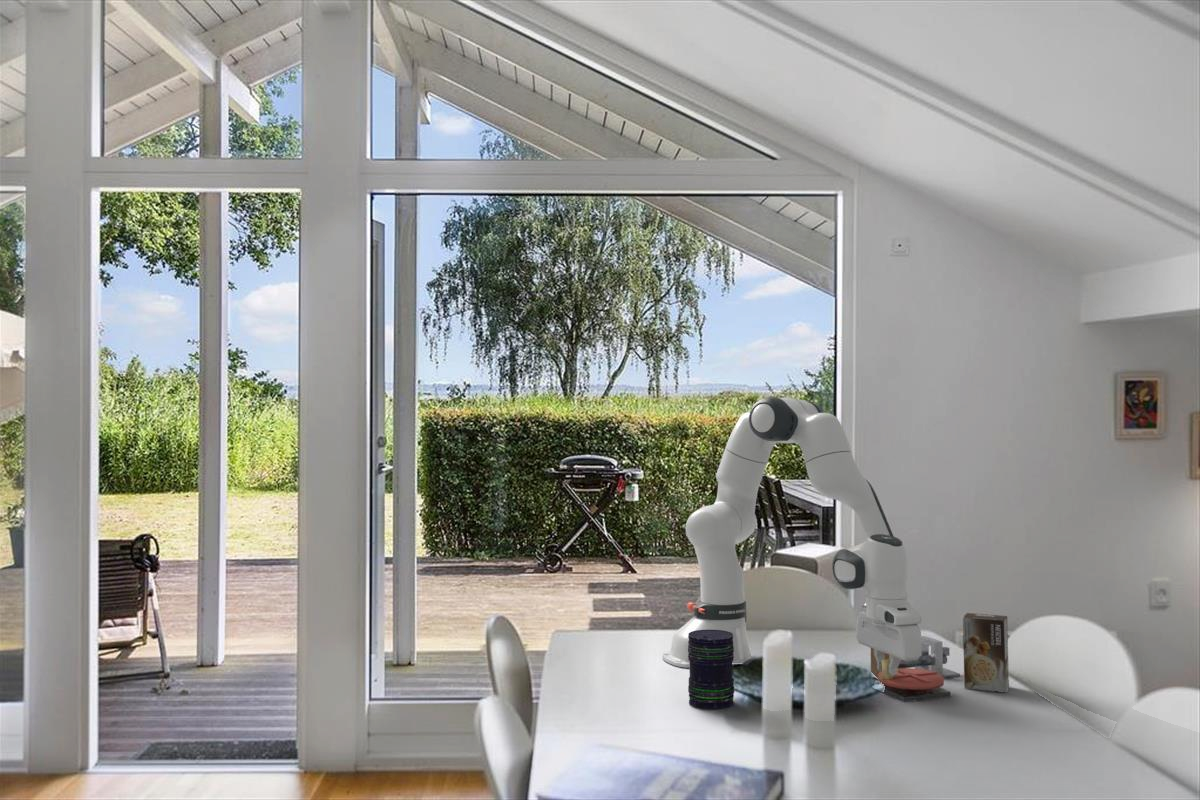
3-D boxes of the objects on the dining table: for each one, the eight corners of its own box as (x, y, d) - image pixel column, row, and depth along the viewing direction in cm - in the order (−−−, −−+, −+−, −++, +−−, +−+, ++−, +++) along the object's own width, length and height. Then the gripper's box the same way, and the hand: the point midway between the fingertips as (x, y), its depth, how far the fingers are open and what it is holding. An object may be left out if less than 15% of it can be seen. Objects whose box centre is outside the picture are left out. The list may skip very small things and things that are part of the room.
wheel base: (904, 701, 234) (904, 695, 234) (872, 688, 245) (872, 682, 245) (950, 696, 238) (950, 690, 238) (917, 683, 249) (917, 677, 249)
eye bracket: (938, 678, 253) (938, 643, 253) (914, 669, 262) (914, 635, 262) (959, 676, 255) (959, 641, 255) (935, 667, 264) (935, 633, 264)
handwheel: (901, 697, 233) (901, 668, 233) (865, 681, 246) (864, 653, 246) (957, 690, 237) (957, 662, 237) (918, 675, 251) (918, 648, 251)
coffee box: (1010, 686, 246) (1009, 615, 246) (1006, 693, 240) (1005, 620, 240) (967, 682, 250) (967, 612, 250) (962, 688, 244) (962, 617, 244)
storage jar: (700, 695, 241) (700, 627, 241) (741, 701, 236) (741, 632, 236) (680, 706, 232) (679, 636, 232) (722, 712, 227) (721, 641, 227)
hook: (880, 680, 251) (880, 646, 251) (870, 676, 255) (870, 643, 255) (953, 672, 258) (953, 639, 258) (942, 668, 261) (942, 636, 261)
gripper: (849, 602, 249) (849, 663, 249) (900, 619, 229) (901, 684, 229) (873, 600, 251) (873, 660, 251) (926, 616, 231) (927, 682, 231)
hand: (887, 672), depth 240 cm, fingers closed on handwheel, 2 cm apart
